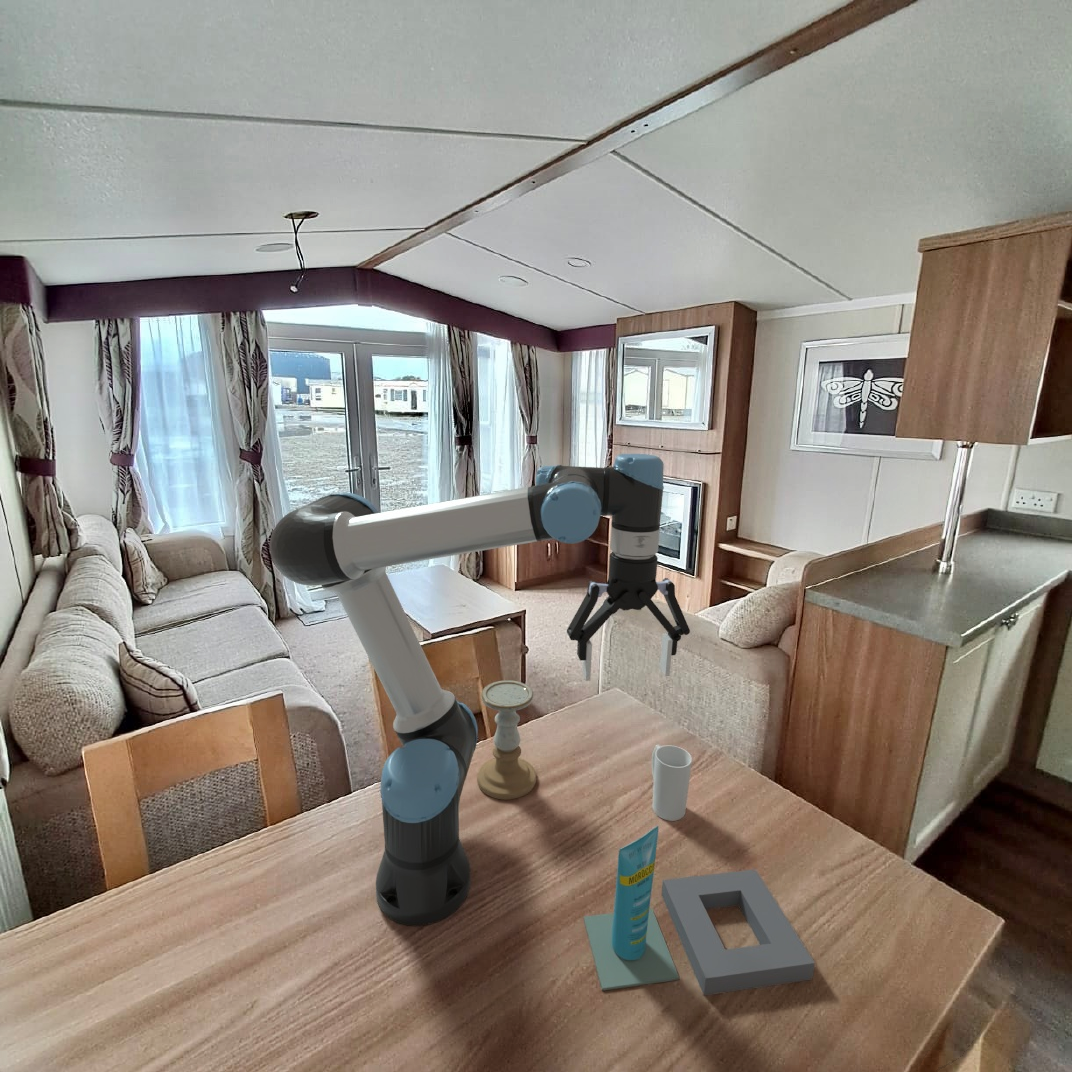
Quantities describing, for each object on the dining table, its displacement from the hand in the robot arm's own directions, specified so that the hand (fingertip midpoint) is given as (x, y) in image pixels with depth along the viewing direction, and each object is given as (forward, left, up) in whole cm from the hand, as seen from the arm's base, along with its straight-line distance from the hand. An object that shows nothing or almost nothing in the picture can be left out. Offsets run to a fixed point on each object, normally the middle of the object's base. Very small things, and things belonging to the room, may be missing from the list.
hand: (625, 674), depth 97 cm
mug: (+12, +7, -33) cm, 36 cm away
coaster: (-4, -21, -33) cm, 39 cm away
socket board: (+12, -21, -33) cm, 41 cm away
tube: (-4, -21, -32) cm, 39 cm away
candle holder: (-18, +18, -33) cm, 42 cm away
